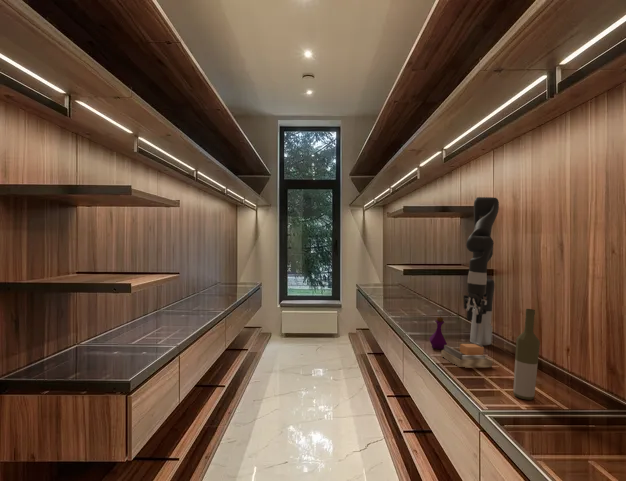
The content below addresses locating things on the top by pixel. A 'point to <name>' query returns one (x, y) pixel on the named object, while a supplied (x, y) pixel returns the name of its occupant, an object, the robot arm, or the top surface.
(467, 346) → the orange box with handle
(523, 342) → the bottle
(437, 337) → the perfume bottle
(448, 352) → the dock
